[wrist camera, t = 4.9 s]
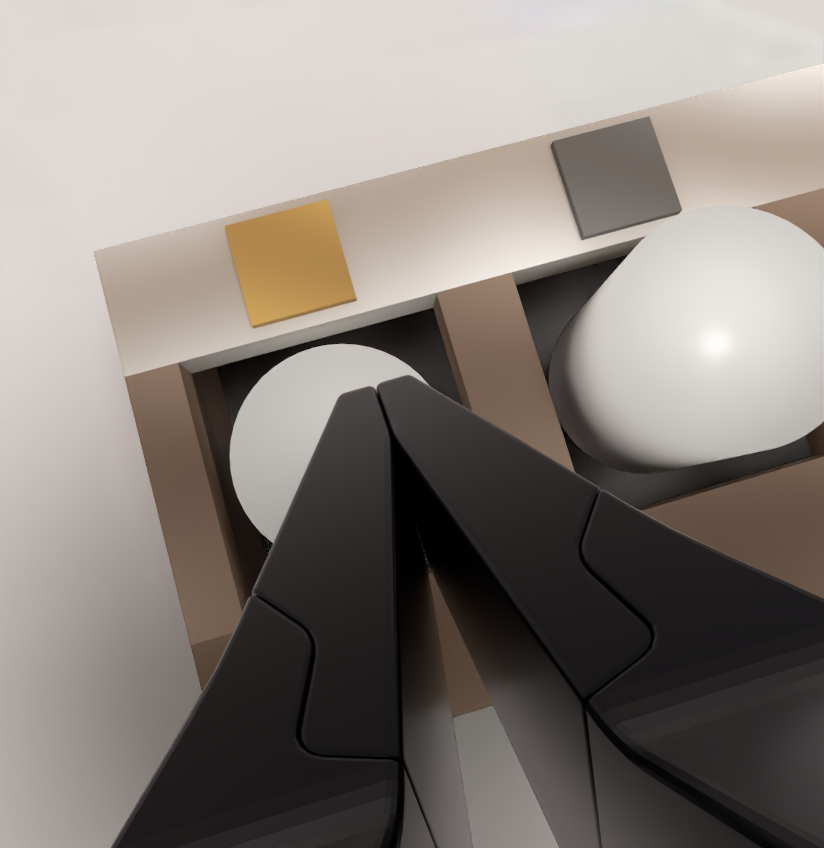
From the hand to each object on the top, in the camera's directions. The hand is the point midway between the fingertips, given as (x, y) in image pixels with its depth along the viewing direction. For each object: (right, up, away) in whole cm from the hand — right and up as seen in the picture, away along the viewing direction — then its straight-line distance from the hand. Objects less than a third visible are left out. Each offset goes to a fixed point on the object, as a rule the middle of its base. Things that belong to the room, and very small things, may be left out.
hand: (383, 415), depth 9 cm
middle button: (+5, +1, +8) cm, 9 cm away
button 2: (-1, -1, +9) cm, 10 cm away
